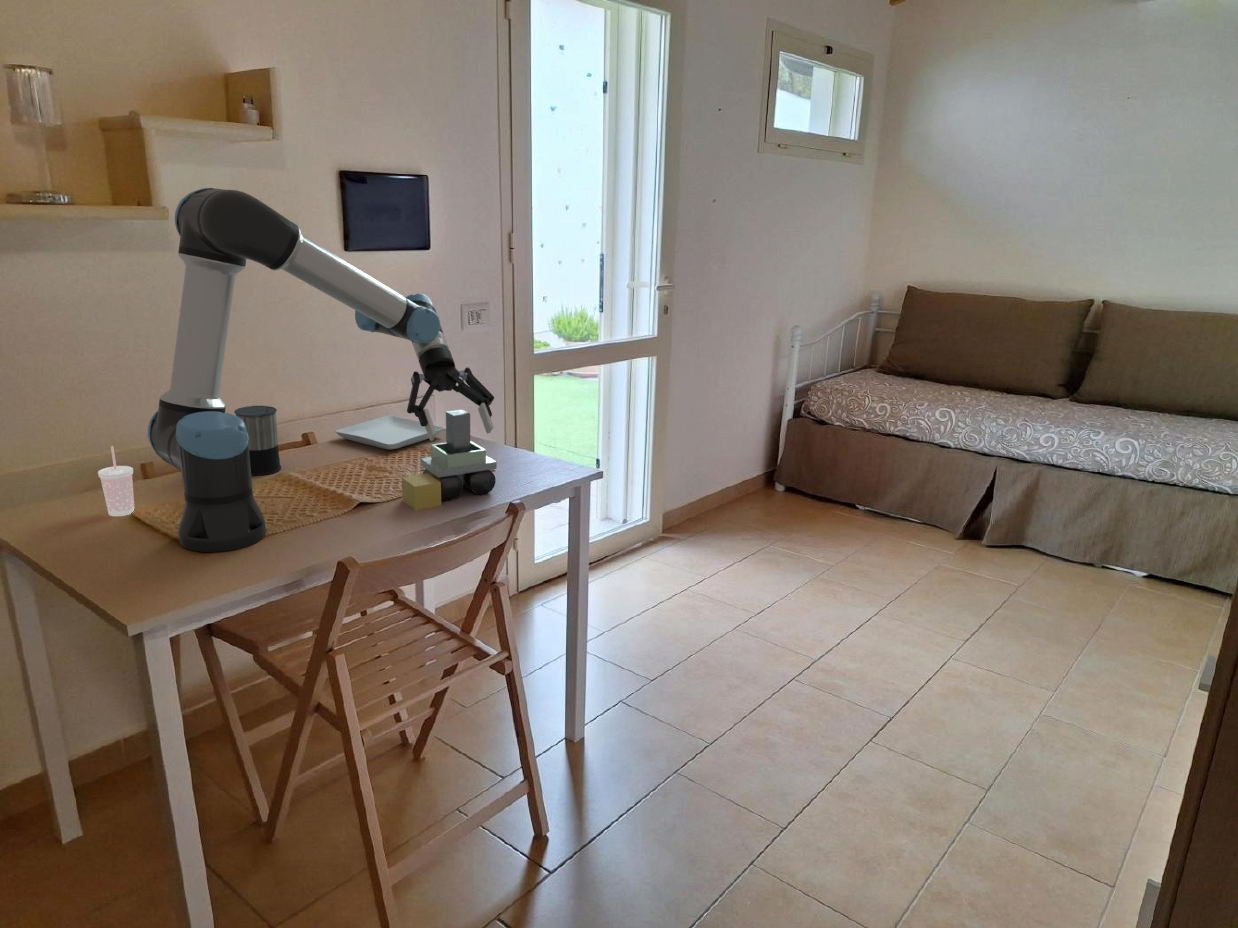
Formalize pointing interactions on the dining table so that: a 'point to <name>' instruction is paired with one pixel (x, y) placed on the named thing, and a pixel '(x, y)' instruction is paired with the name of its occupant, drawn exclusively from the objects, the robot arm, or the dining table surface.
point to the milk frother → (261, 438)
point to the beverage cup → (118, 488)
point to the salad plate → (387, 432)
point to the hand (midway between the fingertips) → (462, 434)
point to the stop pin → (457, 431)
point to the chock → (421, 491)
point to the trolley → (460, 470)
